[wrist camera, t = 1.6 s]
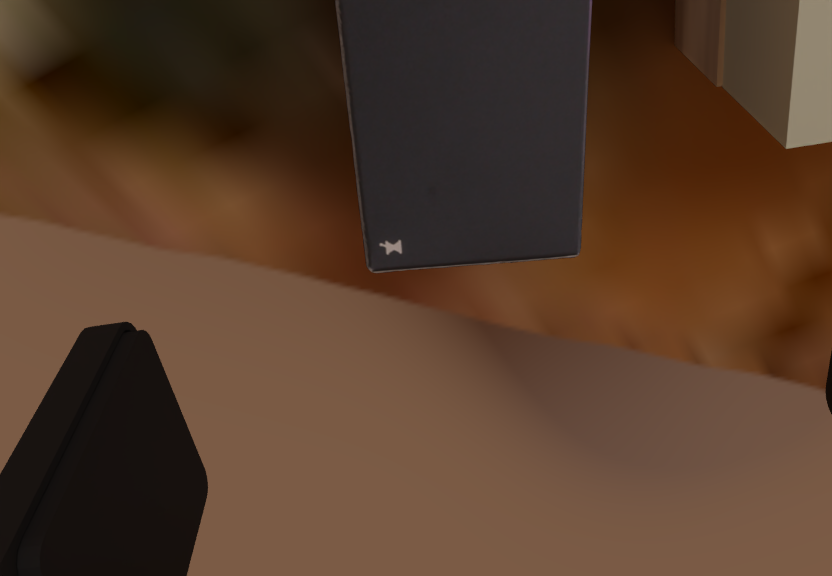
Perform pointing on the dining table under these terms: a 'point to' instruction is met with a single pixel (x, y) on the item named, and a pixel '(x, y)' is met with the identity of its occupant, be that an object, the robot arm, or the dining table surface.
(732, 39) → the tower top
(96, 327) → the robot arm
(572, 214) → the small box
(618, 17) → the dining table surface
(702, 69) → the tower base
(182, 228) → the dining table surface
